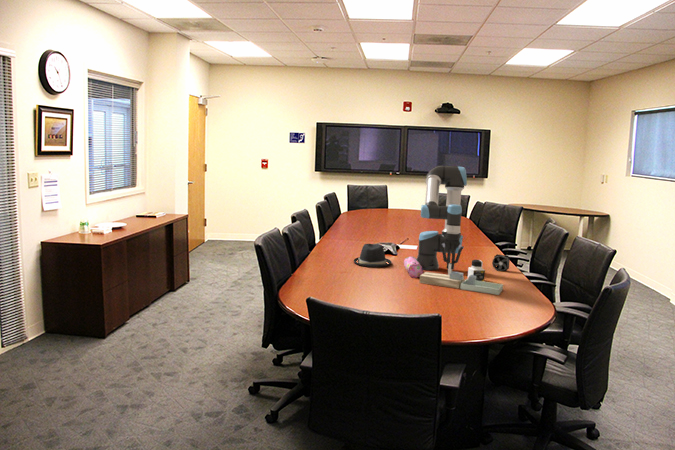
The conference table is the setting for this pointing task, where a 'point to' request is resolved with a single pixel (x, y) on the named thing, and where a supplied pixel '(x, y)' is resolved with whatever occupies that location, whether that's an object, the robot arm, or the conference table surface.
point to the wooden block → (440, 280)
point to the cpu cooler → (501, 262)
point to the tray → (482, 287)
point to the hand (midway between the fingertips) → (449, 274)
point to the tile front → (472, 280)
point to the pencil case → (413, 267)
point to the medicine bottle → (477, 270)
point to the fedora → (372, 256)
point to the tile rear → (456, 276)
